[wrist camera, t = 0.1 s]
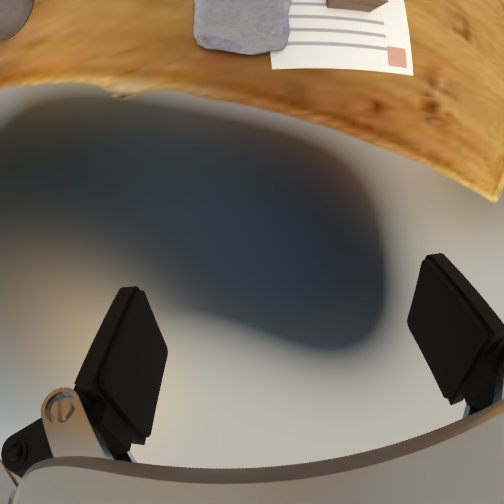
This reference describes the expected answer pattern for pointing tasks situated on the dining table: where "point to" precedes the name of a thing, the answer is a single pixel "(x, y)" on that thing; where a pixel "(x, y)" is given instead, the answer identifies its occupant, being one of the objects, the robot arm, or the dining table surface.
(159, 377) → the robot arm
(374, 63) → the letter
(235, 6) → the stone block
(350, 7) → the walnut cube
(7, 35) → the pillar candle
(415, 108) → the dining table surface
